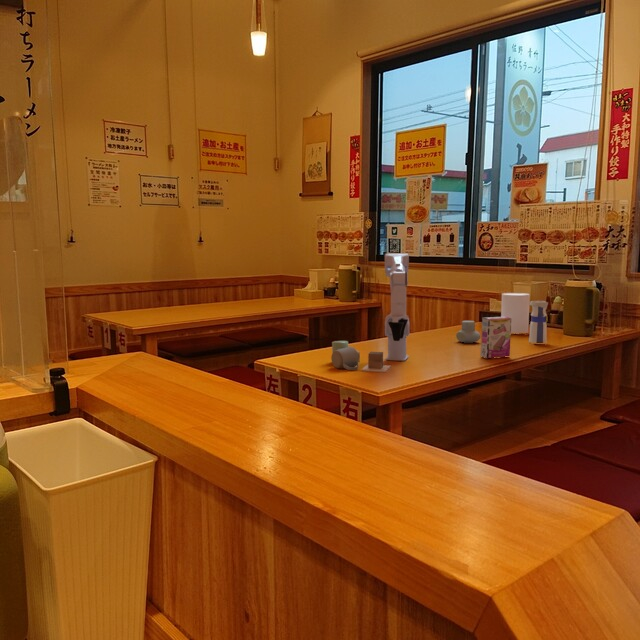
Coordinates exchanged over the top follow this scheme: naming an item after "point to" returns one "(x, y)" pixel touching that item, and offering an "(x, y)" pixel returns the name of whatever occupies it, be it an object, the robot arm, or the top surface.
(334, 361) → the ceramic mug
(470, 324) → the air freshener
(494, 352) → the candy bar box
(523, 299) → the canister
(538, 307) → the water bottle
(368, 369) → the trivet
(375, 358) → the walnut block
